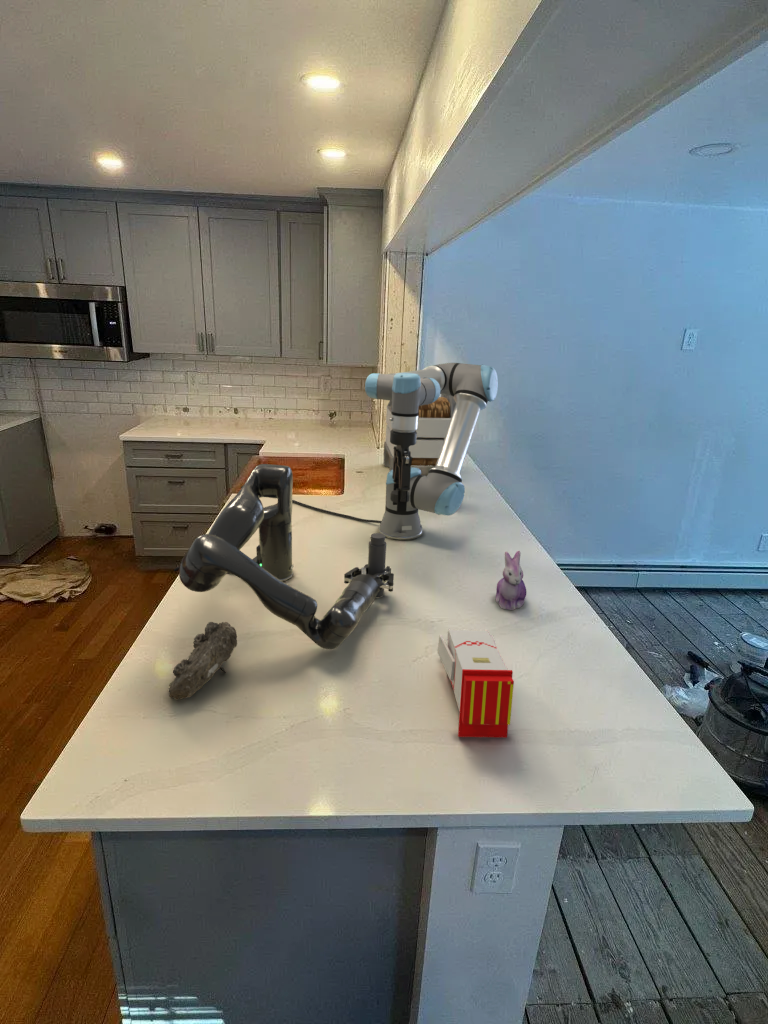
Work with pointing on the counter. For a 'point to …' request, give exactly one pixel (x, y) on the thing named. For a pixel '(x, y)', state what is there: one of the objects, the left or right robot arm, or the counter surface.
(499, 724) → the toy
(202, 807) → the counter surface
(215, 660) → the fossil
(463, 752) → the counter surface
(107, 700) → the counter surface
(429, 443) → the white slatted crate
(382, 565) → the jar
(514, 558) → the figurine
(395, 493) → the lid
